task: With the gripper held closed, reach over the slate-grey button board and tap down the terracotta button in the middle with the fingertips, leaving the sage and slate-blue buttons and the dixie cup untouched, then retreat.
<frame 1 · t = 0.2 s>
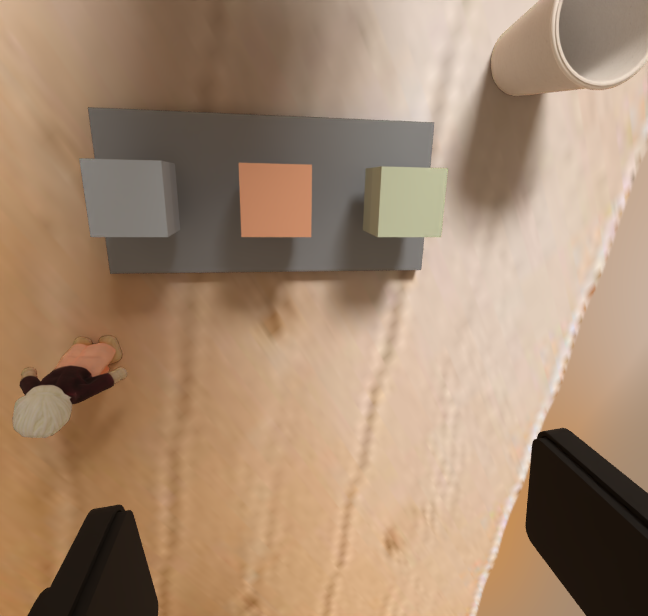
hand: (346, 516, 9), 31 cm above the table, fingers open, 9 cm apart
button terracotta: (275, 199, 31), point 6 cm above the table, slide at 0.0 cm
grandmother figurine: (103, 349, 39), on the table
button board: (272, 197, 37), on the table
button slate: (135, 198, 30), point 6 cm above the table, slide at 0.0 cm
dixie cup: (519, 61, 37), on the table
button sage: (402, 201, 33), point 6 cm above the table, slide at 0.0 cm
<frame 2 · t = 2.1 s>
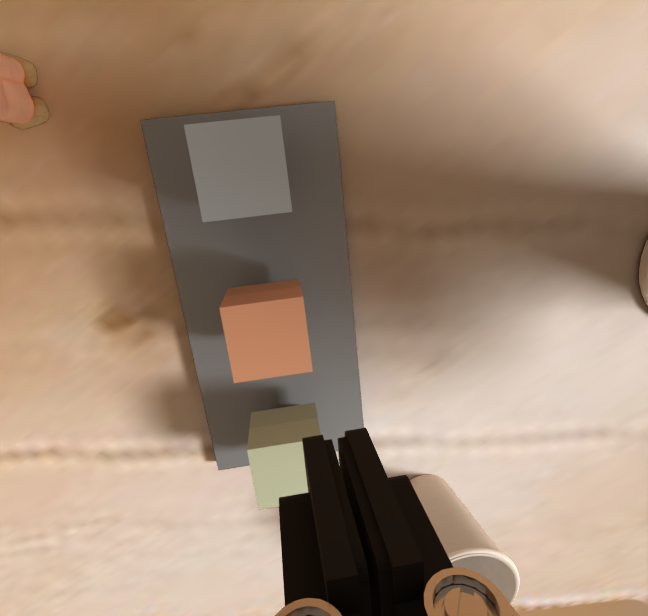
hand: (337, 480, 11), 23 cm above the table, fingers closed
button terracotta: (268, 327, 28), point 6 cm above the table, slide at 0.0 cm
grandmother figurine: (24, 101, 27), on the table
button board: (269, 303, 33), on the table
button slate: (243, 171, 24), point 6 cm above the table, slide at 0.0 cm
dixie cup: (422, 496, 41), on the table
button sage: (288, 453, 31), point 6 cm above the table, slide at 0.0 cm
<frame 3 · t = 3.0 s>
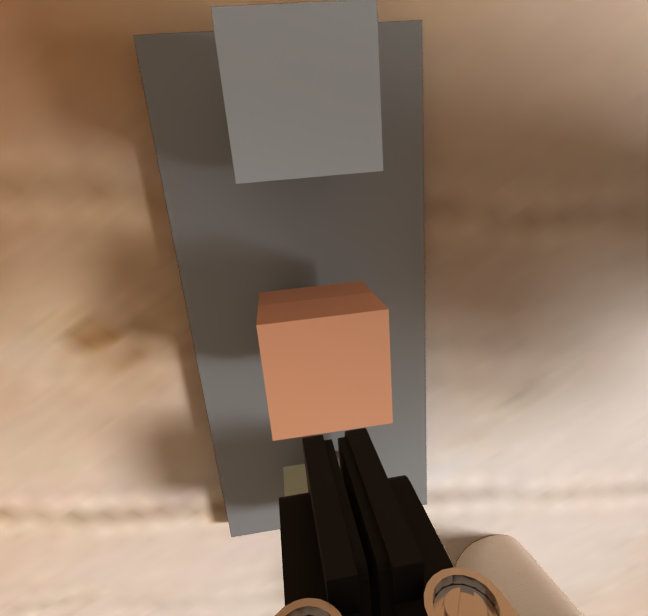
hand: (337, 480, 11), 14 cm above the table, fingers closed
button terracotta: (321, 353, 18), point 6 cm above the table, slide at 0.0 cm
button board: (309, 313, 24), on the table
button slate: (298, 107, 15), point 6 cm above the table, slide at 0.0 cm
dixie cup: (489, 561, 32), on the table
button sage: (338, 529, 21), point 6 cm above the table, slide at 0.0 cm
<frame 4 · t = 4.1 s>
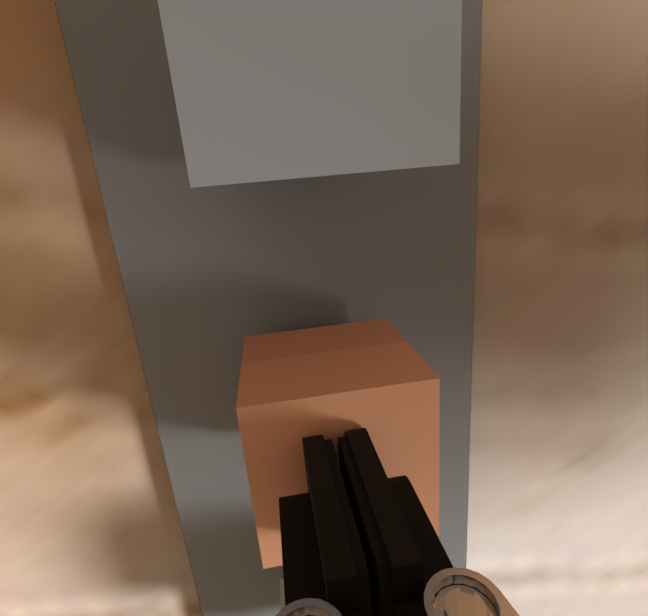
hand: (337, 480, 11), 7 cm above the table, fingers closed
button terracotta: (332, 426, 13), point 5 cm above the table, slide at 0.9 cm, touching gripper
button board: (314, 361, 18), on the table
button slate: (304, 57, 9), point 6 cm above the table, slide at 0.0 cm
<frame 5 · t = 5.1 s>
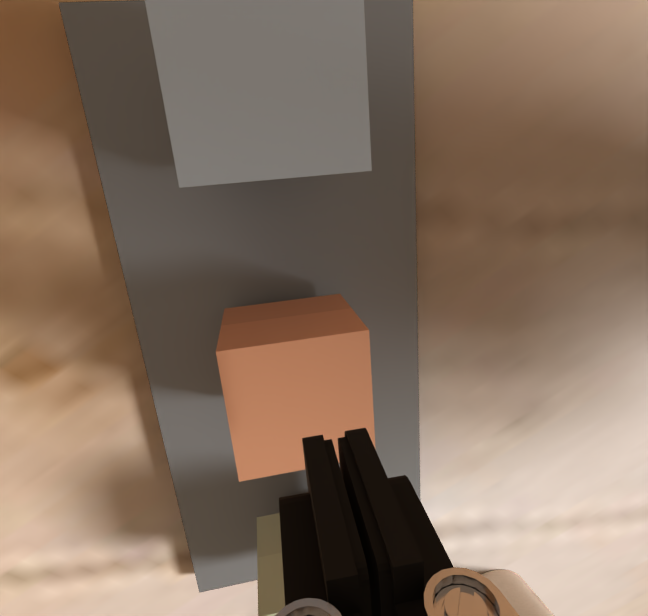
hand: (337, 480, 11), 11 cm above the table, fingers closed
button terracotta: (295, 377, 16), point 5 cm above the table, slide at 1.2 cm
button board: (285, 335, 21), on the table
button slate: (263, 90, 12), point 6 cm above the table, slide at 0.0 cm
dixie cup: (487, 598, 29), on the table
button sage: (321, 591, 18), point 6 cm above the table, slide at 0.0 cm
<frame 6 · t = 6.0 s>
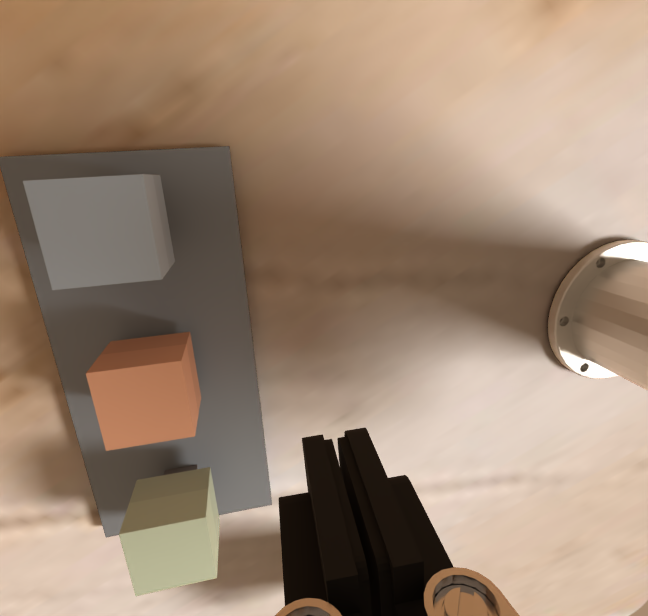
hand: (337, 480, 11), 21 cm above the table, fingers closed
button terracotta: (151, 387, 26), point 5 cm above the table, slide at 1.2 cm
button board: (163, 356, 30), on the table
button slate: (110, 227, 22), point 6 cm above the table, slide at 0.0 cm
button sage: (175, 527, 28), point 6 cm above the table, slide at 0.0 cm
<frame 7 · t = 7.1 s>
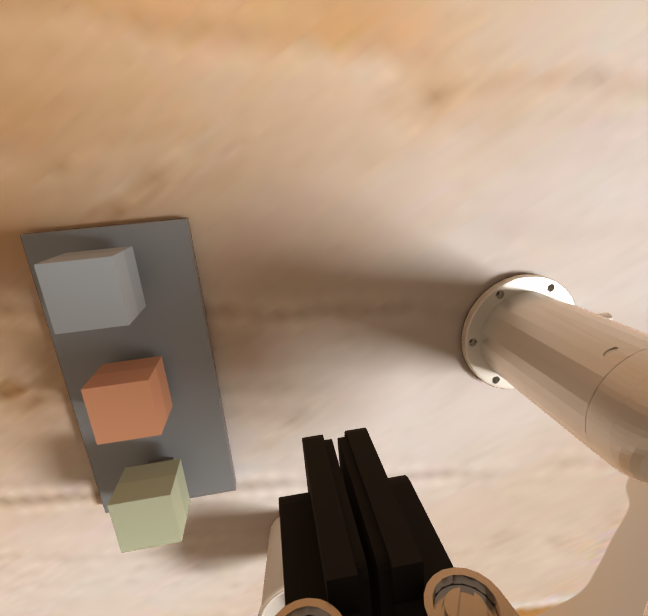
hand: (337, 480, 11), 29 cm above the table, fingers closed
button terracotta: (130, 398, 35), point 5 cm above the table, slide at 1.2 cm
button board: (145, 373, 39), on the table
button slate: (95, 287, 31), point 6 cm above the table, slide at 0.0 cm
dixie cup: (294, 529, 48), on the table
button sage: (152, 503, 37), point 6 cm above the table, slide at 0.0 cm
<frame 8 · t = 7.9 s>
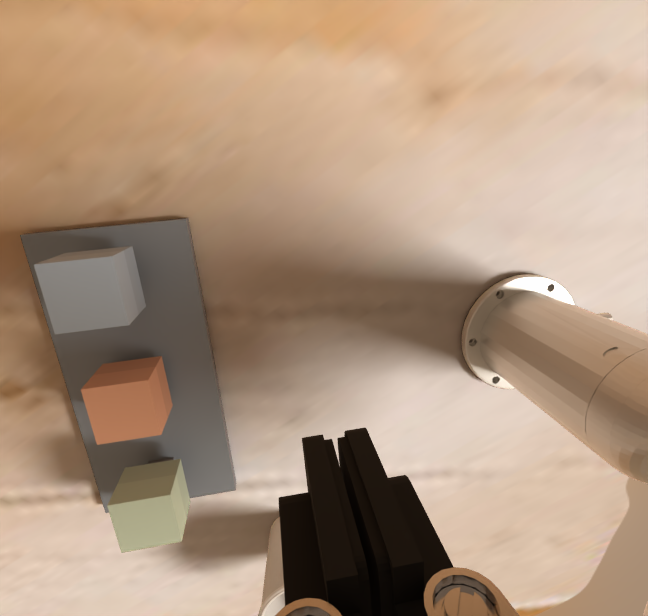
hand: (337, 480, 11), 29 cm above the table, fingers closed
button terracotta: (131, 398, 35), point 5 cm above the table, slide at 1.2 cm
button board: (145, 373, 39), on the table
button slate: (95, 287, 31), point 6 cm above the table, slide at 0.0 cm
dixie cup: (294, 529, 48), on the table
button sage: (152, 503, 37), point 6 cm above the table, slide at 0.0 cm
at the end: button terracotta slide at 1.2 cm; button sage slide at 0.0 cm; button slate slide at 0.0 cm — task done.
